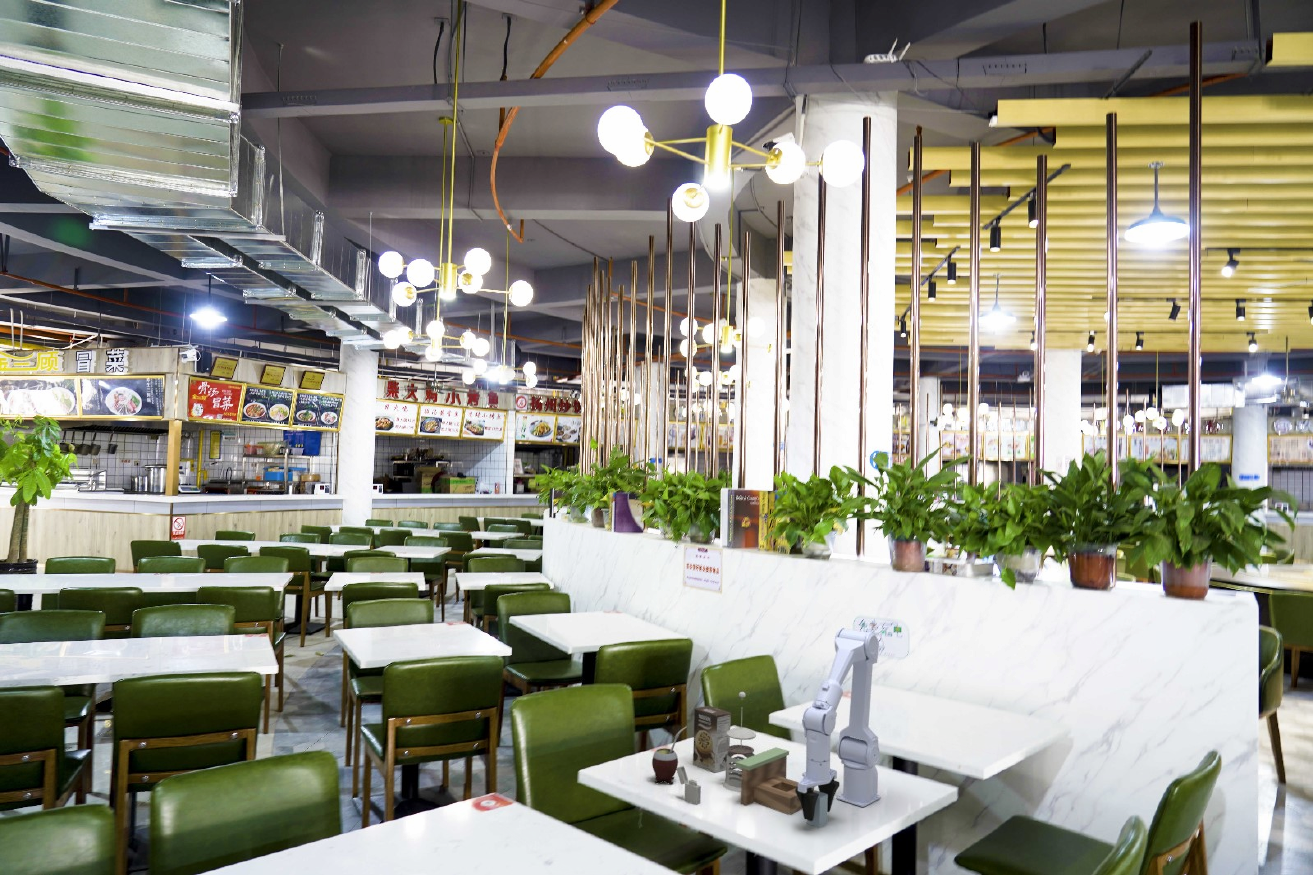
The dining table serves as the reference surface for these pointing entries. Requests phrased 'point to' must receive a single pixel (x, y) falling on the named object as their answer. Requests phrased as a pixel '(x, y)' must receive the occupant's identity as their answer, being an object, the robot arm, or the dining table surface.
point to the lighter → (689, 787)
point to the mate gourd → (665, 763)
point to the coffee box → (711, 738)
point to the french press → (740, 733)
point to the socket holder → (769, 781)
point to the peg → (820, 810)
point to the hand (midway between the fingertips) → (817, 815)
